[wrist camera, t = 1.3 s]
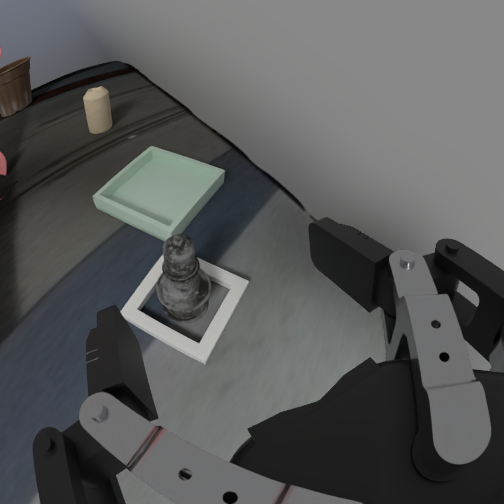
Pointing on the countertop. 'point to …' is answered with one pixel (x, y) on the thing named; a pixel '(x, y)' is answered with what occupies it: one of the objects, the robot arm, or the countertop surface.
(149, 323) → the square frame
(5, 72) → the plant pot
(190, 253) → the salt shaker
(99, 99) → the candle
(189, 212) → the parts tray
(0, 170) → the figurine
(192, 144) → the countertop surface
